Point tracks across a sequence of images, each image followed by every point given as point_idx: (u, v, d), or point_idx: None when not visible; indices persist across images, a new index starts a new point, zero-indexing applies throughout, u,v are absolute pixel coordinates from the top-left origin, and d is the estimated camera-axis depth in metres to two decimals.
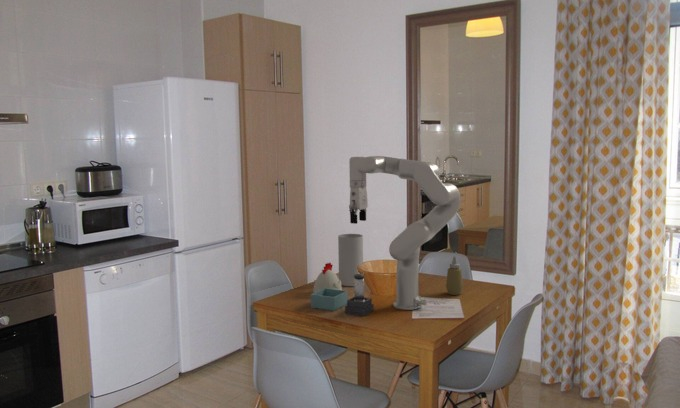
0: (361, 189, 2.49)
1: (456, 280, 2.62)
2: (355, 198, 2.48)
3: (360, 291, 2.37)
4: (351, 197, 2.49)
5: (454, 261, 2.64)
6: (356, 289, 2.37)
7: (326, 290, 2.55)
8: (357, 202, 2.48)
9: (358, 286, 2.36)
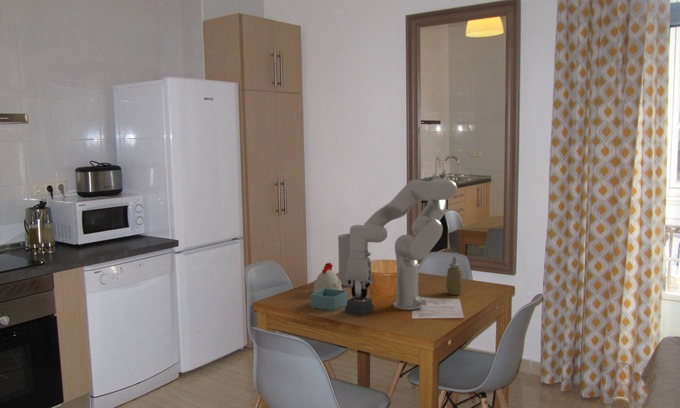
0: None
1: (456, 280, 2.62)
2: (370, 268, 2.36)
3: (360, 291, 2.37)
4: (368, 269, 2.34)
5: (454, 261, 2.64)
6: (356, 289, 2.37)
7: (326, 290, 2.55)
8: (371, 272, 2.37)
9: (358, 286, 2.36)
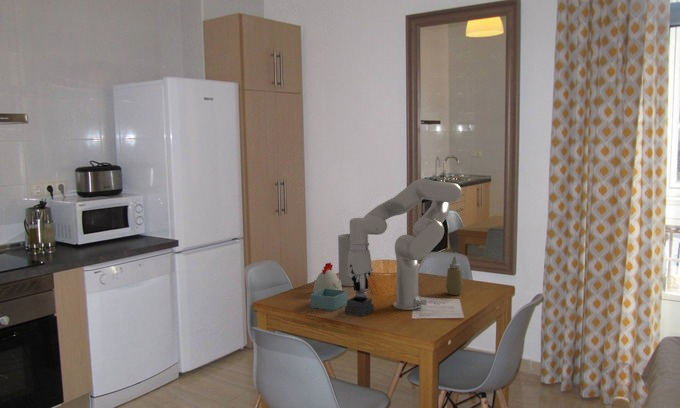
0: None
1: (456, 280, 2.62)
2: None
3: None
4: None
5: (454, 261, 2.64)
6: (362, 282, 2.37)
7: (326, 290, 2.55)
8: None
9: (364, 278, 2.37)
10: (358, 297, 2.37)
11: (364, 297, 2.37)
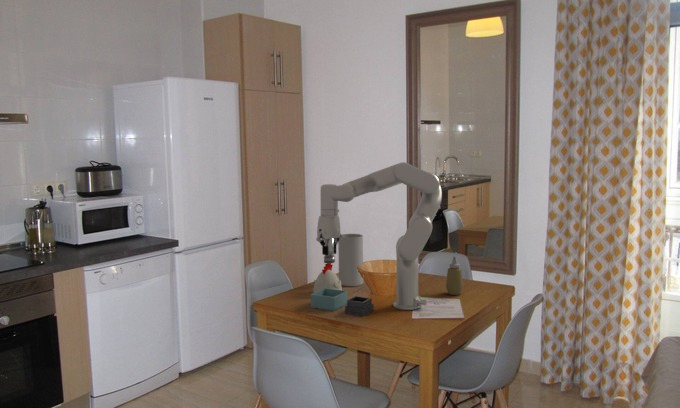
0: None
1: (456, 280, 2.62)
2: None
3: (333, 248, 2.46)
4: None
5: (454, 261, 2.64)
6: (331, 246, 2.44)
7: (326, 290, 2.55)
8: None
9: (332, 242, 2.44)
10: (326, 261, 2.44)
11: (332, 261, 2.44)
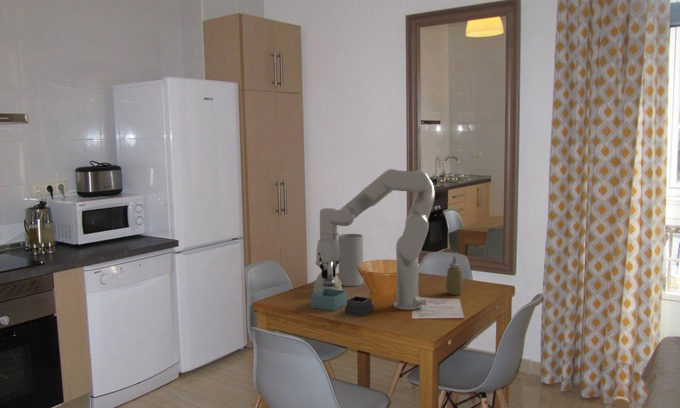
0: None
1: (456, 280, 2.62)
2: None
3: None
4: None
5: (454, 261, 2.64)
6: (330, 270, 2.45)
7: (326, 290, 2.55)
8: None
9: (332, 266, 2.46)
10: (325, 284, 2.46)
11: (331, 285, 2.46)
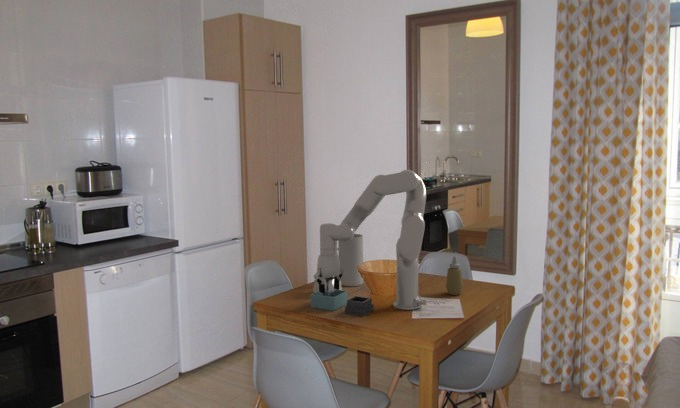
0: None
1: (456, 280, 2.62)
2: None
3: None
4: None
5: (454, 261, 2.64)
6: (331, 289, 2.46)
7: None
8: None
9: (333, 285, 2.47)
10: None
11: None
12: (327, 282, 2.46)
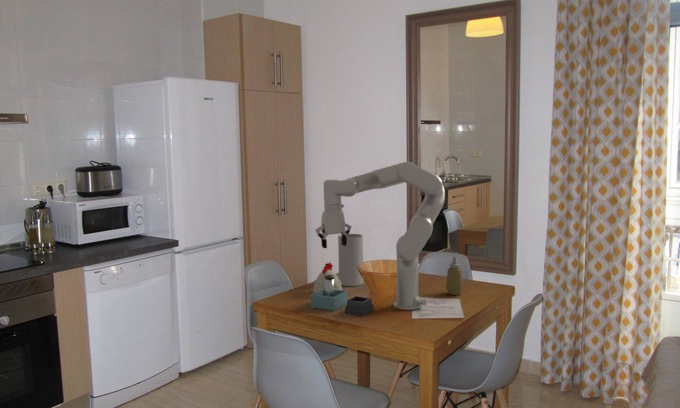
0: None
1: (456, 280, 2.62)
2: None
3: None
4: None
5: (454, 261, 2.64)
6: (331, 289, 2.46)
7: None
8: None
9: (333, 285, 2.47)
10: None
11: None
12: (327, 282, 2.46)
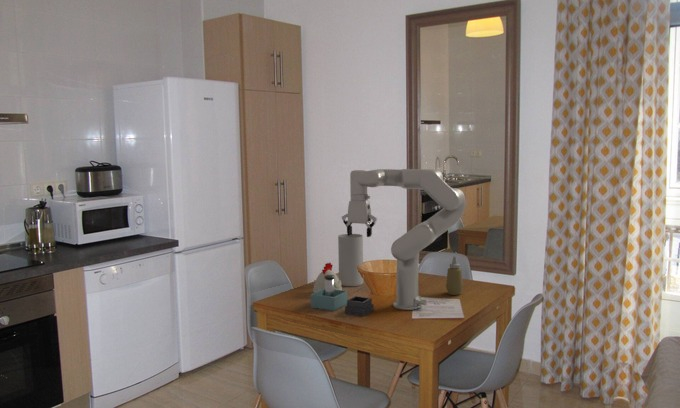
0: None
1: (456, 280, 2.62)
2: (370, 211, 2.49)
3: None
4: (367, 211, 2.47)
5: (454, 261, 2.64)
6: (331, 289, 2.46)
7: None
8: None
9: (333, 285, 2.47)
10: None
11: None
12: (327, 282, 2.46)
